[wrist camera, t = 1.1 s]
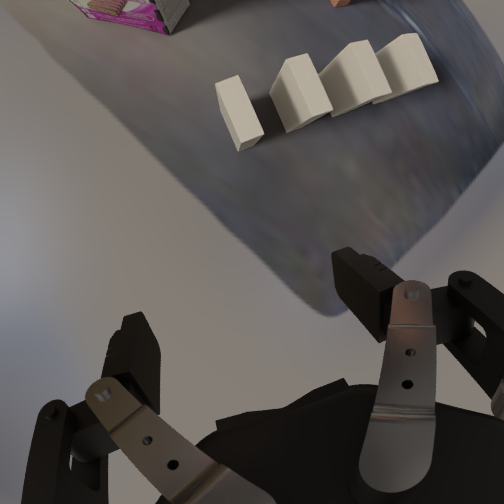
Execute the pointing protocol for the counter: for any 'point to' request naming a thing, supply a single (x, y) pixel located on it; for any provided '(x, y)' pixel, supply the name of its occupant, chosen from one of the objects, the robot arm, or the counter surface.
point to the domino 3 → (339, 3)
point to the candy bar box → (136, 12)
